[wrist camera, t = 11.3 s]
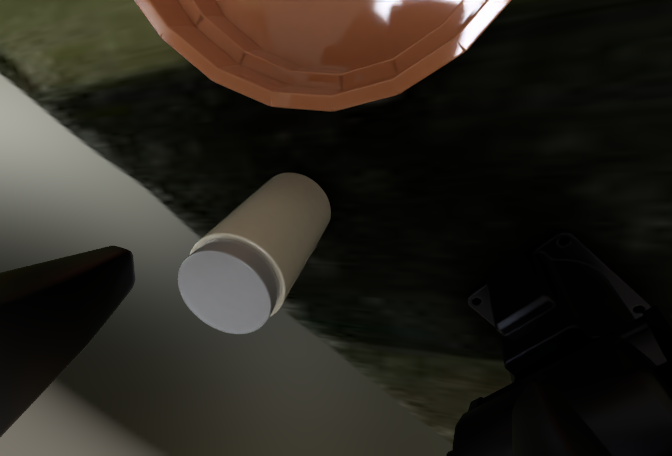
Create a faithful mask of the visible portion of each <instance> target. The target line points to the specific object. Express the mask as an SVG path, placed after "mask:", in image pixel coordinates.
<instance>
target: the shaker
mask: <svg viewBox="0 0 672 456" xmlns="http://www.w3.org/2000/svg"><path fill="white" fill-rule="evenodd" d="M330 218H331V208H330V203H329V200H328V198H327V196H326V194H325V192H324V191H323V189H322V188H321V187H320V186H319V185H318V184H317V183H316V182H315V181H313V180H312V179H310V178H308V177H306V176H304V175H301V174H297V173H282V174H278V175H276V176H274V177H272V178H271V179H270V180H268V181H267V182H266V183H265V184H264V185H263V186H261V187H260V188H259V189H258V190H257V191H256V192H254V193H253V194H252V195H251V196H250V197H249V198H247V199H246V200H245V201H244V202H243V203H242V204H241V205H239V206H238V207H237V208H236V209H235V210H234V211H232V212H231V213H230V214H229V215H228V216H227V217H225V218H224V219H223V220H222V221H221V222H220V223H218V224H217V225H216V226H215V227H214V228H213V229H211V230H210V231H209V232H208V233H207V234H206V235H205V236H203V237H202V238H201V239H200V240H199V241H198V242H197V243H196V244H195V245H194V246H193V248H192V250H191V252H190V255H189V256H188V257H187V258H186V259H185V260H184V261H183V263H182V264H181V266H180V269H179V272H178V287H179V290H180V293H181V296H182V298H183V300H184V301H185V303H186V305H187V306H188V307H189V309H190V310H191V311H192V312H193V313H194V314H195V315H196V316H197V317H198V318H199V319H201V320H202V321H204V322H205V323H206V324H208V325H209V326H211V327H213V328H215V329H218V330H220V331H223V332H227V333H232V334H246V333H251V332H253V331H256V330H257V329H259V328H261V327H262V326H263V325H264V324H265V323H266V322H267V320H268V319H269V317H270V316H272V315H274V314H275V313H276V312H277V311H278V310H279V309H280V308H281V306H282V304H283V303H284V301H285V299H286V297H287V296H288V294H289V292H290V291H291V289H292V287H293V285H294V284H295V282H296V280H297V278H298V277H299V275H300V273H301V272H302V270H303V268H304V266H305V265H306V263H307V261H308V259H309V258H310V256H311V254H312V253H313V251H314V249H315V247H316V246H317V244H318V242H319V240H320V239H321V237H322V235H323V234H324V232H325V230H326V228H327V227H328V225H329V222H330Z"/></svg>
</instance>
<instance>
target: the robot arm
mask: <svg viewBox="0 0 672 456" xmlns="http://www.w3.org/2000/svg"><path fill="white" fill-rule="evenodd" d="M563 237H567V240H566V241H565V242H558V241H559V240H560V238H563ZM134 282H135V272H134V262H133V255H132V253H131V251H129V250H127V249H124V248H121V247H117V246H109V247H105V248H101V249H96V250H92V251H88V252H85V253H80V254H76V255H72V256H68V257H64V258H59V259H55V260H51V261H47V262H43V263H39V264H35V265H31V266H26V267H23V268H18V269H14V270H10V271H6V272H2V273H0V437H1V436H2V435H3V434H4V433H5V432H6V431H7V430H8V429H9V427H10V426H11V425H12V424H13V423H14V422H15V421H16V420H17V419H18V418H19V417H20V416H21V415H22V414H23V413H24V411H26V410H27V409H28V407H29V406H30V405H31V404H32V403H33V402H34V401H35V400H36V399H37V398H38V397H39V396H40V395H41V393H43V391H45V389H46V388H47V387H48V386H49V385H50V384H51V383H52V382H53V381H54V380H55V379H56V378H57V377H58V376H59V375H60V374H61V373H62V372H63V370H64V369H65V368H66V367H67V366H68V365H69V364H70V363H71V362H72V361H73V360H74V359H75V358H76V357H77V356H78V354H80V352H81V351H82V350H83V349H84V348H85V347H86V346H87V345H88V344H89V343H90V341H91V340H92V339H93V338H94V336H95V335H96V334H97V333H98V331H99V330H100V329H101V327H102V326H103V325H104V323H106V321H107V320H108V319H109V317H110V316H111V315H112V314H113V312H114V311H115V310H116V308H117V307H118V306H119V305H120V303H121V302H122V301H123V299H124V298H125V297H126V296H127V294H128V293H129V292H130V290H131V289H132V287H133V285H134ZM474 298H479V299H480V300H479V301H474V300H473V299H474ZM467 300H468V304H469V306H470V307H472V308H473V309H474V310H475V311H476V312H478V313H479V314H480V315H481V316H482V317H483V318H485V319H486V320H487V321H488V322H489V323H491V324H492V325H493V326H494V327H495V329H496V330H497V331H498V334H499V340H500V345H501V350H502V355H503V360H504V365H505V368H506V369H507V370H508V371H509V372H510V375H511V380H512V384H510V385H508V386H506V387H504V388H502V389H500V390H498V391H496V392H495V393H493V394H491V395H489V396H487V397H485V398H482V397H480V398H478V399H476V400H474V401H472V402H471V403H470V407H469V410H468V412H466V413H465V414H463V415H462V417H461V418H460V420H459V422H458V423H457V425H456V427H455V434H454V441H453V450H452V451H450V452H448V453H447V456H672V318H671V317H670V316H669V315H667V314H666V313H665V312H664V311H663V310H662V309H661V308H660V307H659V306H657V305H655V306H653V307H650V305H649V304H648V303H647V301H646V300H645V299H644V298H643V297H642V296H641V295H640V294H639V293H637V292H636V291H635V290H634V289H633V288H632V287H631V286H630V285H629V284H628V283H626V282H625V281H624V280H623V279H622V278H621V277H620V276H619V275H618V274H617V273H616V272H614V271H613V270H612V269H611V268H610V267H609V266H608V265H607V264H606V263H605V262H603V261H602V260H601V259H600V258H599V257H598V256H597V255H596V254H595V253H594V252H592V251H591V250H590V249H589V248H588V247H587V246H586V245H585V244H584V243H583V242H581V241H580V240H579V239H578V238H577V237H576V236H575V235H574V234H573V233H572V232H570V231H569V230H565V229H561V230H557V231H555V232H554V233H552V234H551V235H550V236H548V237H547V238H545V239H544V240H543V241H541V242H540V243H538V244H537V245H535V246H534V247H533V248H531V249H530V250H528V251H523V252H522V253H520V254H519V255H517V256H516V257H515V258H513V259H512V260H510V261H509V262H508V263H506V264H505V265H503V266H502V267H501V268H499V269H498V270H496V271H495V272H494V273H492V274H491V275H489V276H488V277H487V280H486V281H485V282H483V283H482V284H481V285H479V286H478V287H476V288H475V289H474V290H472V291H471V292H470V293H469V294H468V296H467ZM638 305H640V307H639V308H636V309H635V308H634V307H635V306H638Z"/></svg>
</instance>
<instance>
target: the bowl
mask: <svg viewBox="0 0 672 456" xmlns="http://www.w3.org/2000/svg"><path fill="white" fill-rule="evenodd" d="M134 1H135V2H136V4H137V5H138V6H139V8H140V9H141V11H142V12H143V13H144V15H145V16H146V18H147V19H148V20H149V22H150V23H151V25H152V26H153V27H154V29H155V30H156V31H157V33H158V34H159V36H160V37H161V38H162V39H163V40H164V41H165V42H167V43H168V44H169V45H170V46H171V47H173V48H174V49H175V50H176V51H177V52H178V53H180V54H181V55H182V56H183V57H184V58H186V59H187V60H188V61H189V62H190V63H192V64H193V65H194V66H195V67H196V68H197V69H199V70H200V71H201V72H202V73H203V74H205V75H206V76H207V77H208V78H209V79H211V80H212V81H214V82H215V83H217V84H220V85H222V86H224V87H227V88H229V89H231V90H234V91H236V92H238V93H240V94H243V95H245V96H247V97H250V98H252V99H254V100H257V101H259V102H261V103H264V104H266V105H268V106H272V107H280V108H292V109H304V110H316V111H328V112H332V111H338V110H342V109H346V108H350V107H354V106H358V105H362V104H365V103H369V102H373V101H377V100H381V99H385V98H389V97H392V96H396V95H398V94H401V93H402V92H404V91H405V90H407V89H409V88H410V87H412V86H413V85H415V84H416V83H418V82H420V81H421V80H423V79H424V78H426V77H427V76H429V75H431V74H432V73H434V72H435V71H437V70H438V69H440V68H442V67H443V66H445V65H446V64H448V63H449V62H451V61H452V60H454V59H456V58H457V57H459V56H460V55H462V54H463V53H464V52H465V51H467V50H468V49H469V48H470V47H471V46H472V44H473V43H474V42H475V41H476V40H477V39H478V38H479V37H480V35H481V34H482V33H483V32H484V31H485V30H486V29H487V28H488V26H489V25H490V24H491V23H492V22H493V21H494V20H495V19H496V17H497V16H498V15H499V14H500V13H501V12H502V11H503V10H504V8H505V7H506V6H507V5H508V4H509V3H510V2H511V1H512V0H134Z"/></svg>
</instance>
